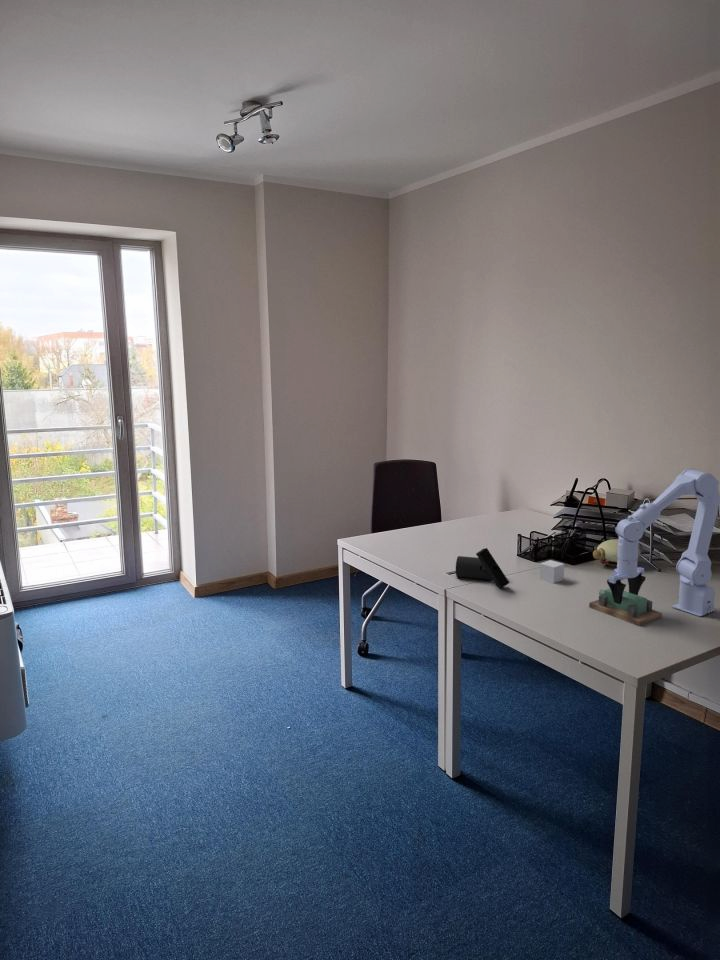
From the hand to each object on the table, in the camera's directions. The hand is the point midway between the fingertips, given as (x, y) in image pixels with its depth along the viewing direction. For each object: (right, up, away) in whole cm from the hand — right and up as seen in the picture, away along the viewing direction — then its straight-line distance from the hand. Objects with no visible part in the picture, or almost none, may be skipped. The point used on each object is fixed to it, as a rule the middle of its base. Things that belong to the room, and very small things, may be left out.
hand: (625, 600), depth 203 cm
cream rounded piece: (+15, +5, +47) cm, 49 cm away
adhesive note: (-14, +1, +32) cm, 35 cm away
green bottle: (-1, -2, +2) cm, 3 cm away
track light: (-39, +1, +32) cm, 50 cm away
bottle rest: (0, -4, +1) cm, 4 cm away
